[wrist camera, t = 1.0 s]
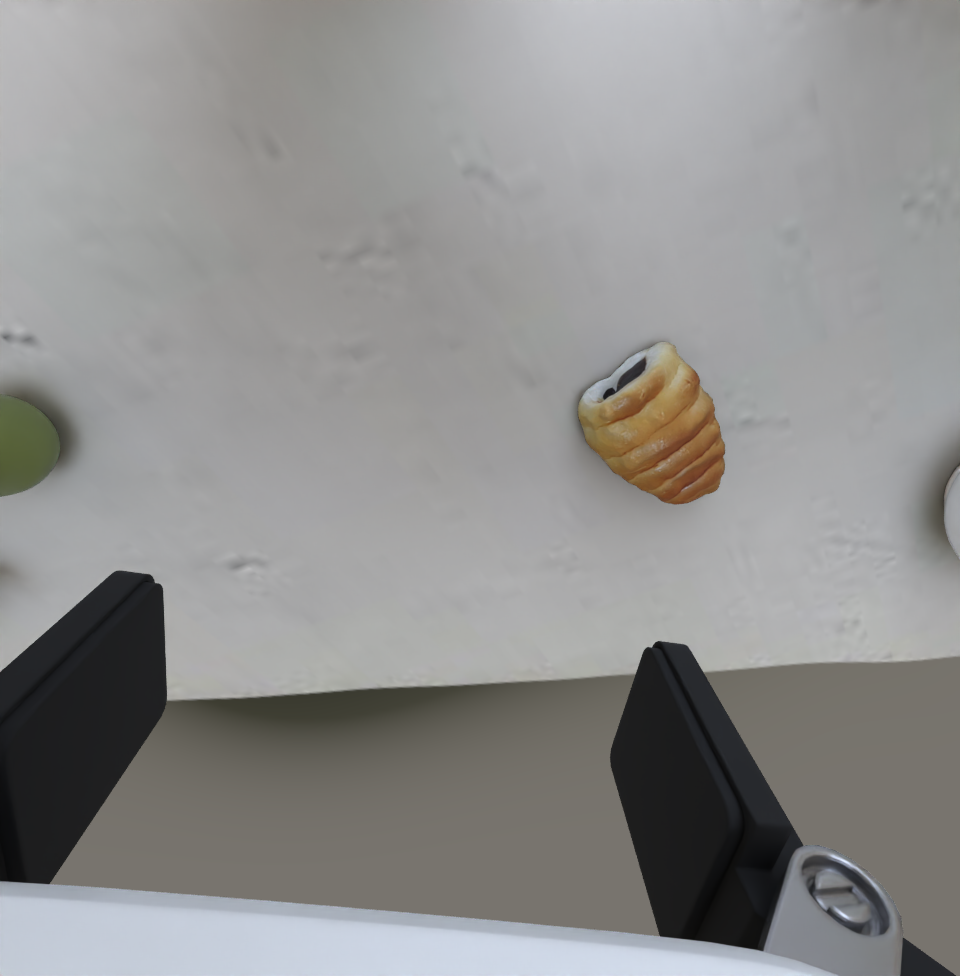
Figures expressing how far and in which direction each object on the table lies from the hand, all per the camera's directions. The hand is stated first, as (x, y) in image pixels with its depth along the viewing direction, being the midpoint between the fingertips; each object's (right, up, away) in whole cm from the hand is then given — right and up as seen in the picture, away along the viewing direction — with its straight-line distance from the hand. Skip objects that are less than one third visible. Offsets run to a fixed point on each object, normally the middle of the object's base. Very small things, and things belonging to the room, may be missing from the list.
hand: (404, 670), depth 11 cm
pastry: (+11, +8, +22) cm, 26 cm away
